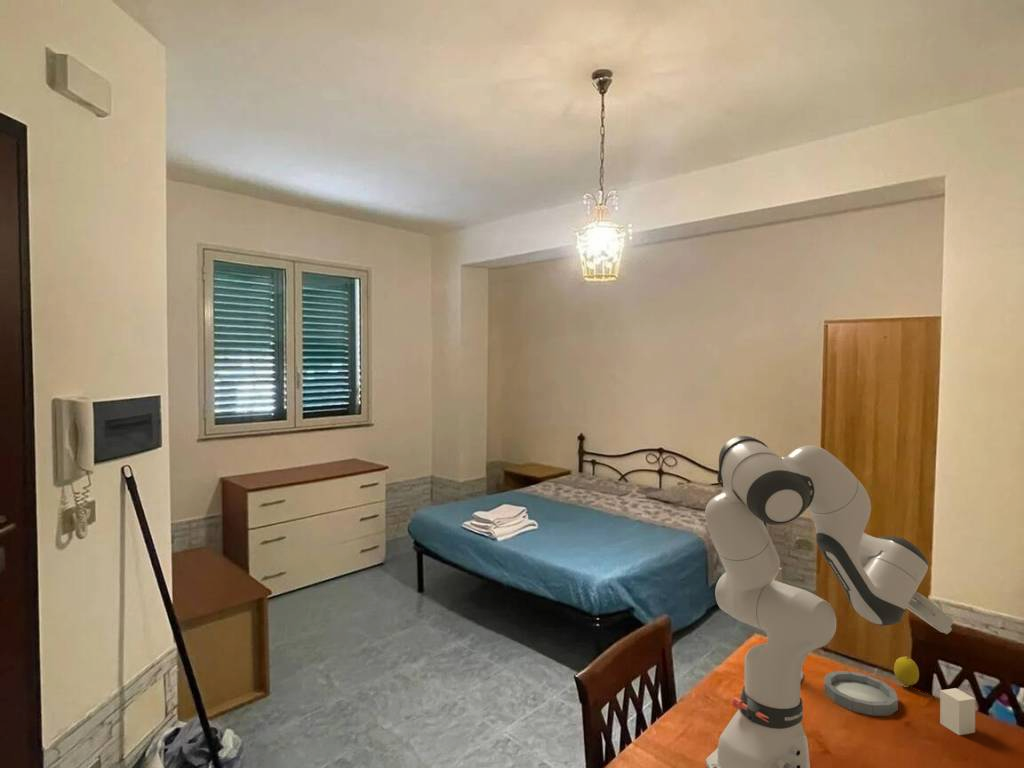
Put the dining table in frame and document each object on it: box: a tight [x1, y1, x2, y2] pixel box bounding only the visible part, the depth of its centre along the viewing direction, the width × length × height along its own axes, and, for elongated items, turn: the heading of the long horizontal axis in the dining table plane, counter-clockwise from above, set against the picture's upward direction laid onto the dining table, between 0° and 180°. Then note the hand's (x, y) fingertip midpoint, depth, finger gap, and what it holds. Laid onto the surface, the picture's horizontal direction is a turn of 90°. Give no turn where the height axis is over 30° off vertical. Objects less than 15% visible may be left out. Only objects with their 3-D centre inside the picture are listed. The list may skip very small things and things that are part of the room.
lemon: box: [893, 656, 920, 687], centre depth 151 cm, size 6×6×8 cm
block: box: [939, 687, 976, 736], centre depth 133 cm, size 5×5×8 cm
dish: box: [823, 670, 899, 717], centre depth 146 cm, size 16×16×3 cm
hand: (931, 619), depth 130 cm, fingers open, 8 cm apart
